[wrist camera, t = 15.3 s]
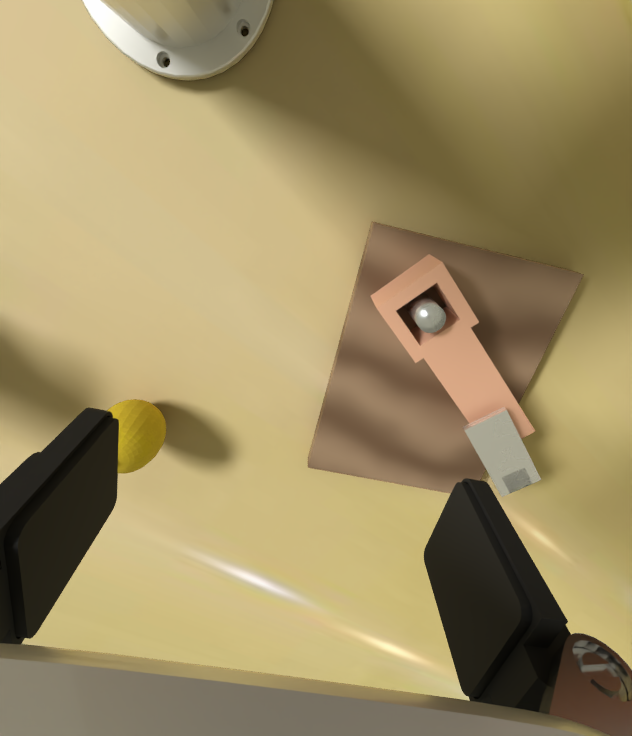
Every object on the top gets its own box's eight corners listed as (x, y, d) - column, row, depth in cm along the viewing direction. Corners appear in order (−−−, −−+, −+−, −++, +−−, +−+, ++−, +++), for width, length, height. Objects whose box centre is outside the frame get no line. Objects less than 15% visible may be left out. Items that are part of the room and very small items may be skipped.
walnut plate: (371, 221, 31) (374, 223, 30) (572, 270, 33) (583, 274, 31) (308, 457, 40) (307, 467, 39) (466, 487, 42) (471, 497, 41)
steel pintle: (408, 287, 32) (422, 302, 28) (432, 293, 32) (450, 308, 28) (401, 311, 32) (413, 329, 28) (424, 316, 33) (440, 335, 29)
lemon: (189, 412, 38) (159, 466, 31) (152, 444, 40) (115, 503, 32) (143, 373, 36) (100, 420, 29) (106, 408, 38) (56, 461, 31)
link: (370, 295, 32) (376, 308, 29) (429, 253, 31) (442, 262, 27) (469, 435, 38) (484, 459, 34) (523, 405, 36) (543, 427, 33)
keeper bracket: (441, 392, 37) (464, 430, 32) (476, 374, 37) (506, 409, 31) (475, 452, 40) (501, 496, 34) (508, 436, 39) (541, 479, 34)
